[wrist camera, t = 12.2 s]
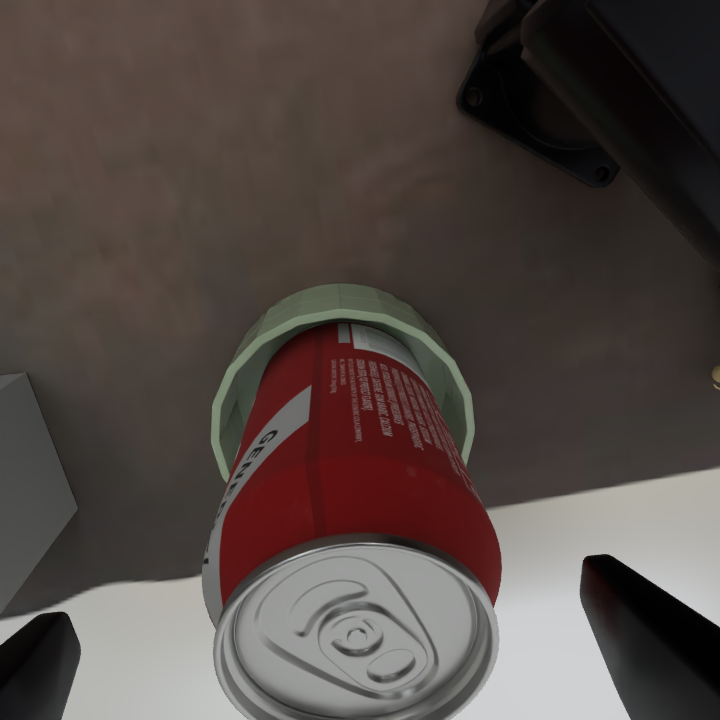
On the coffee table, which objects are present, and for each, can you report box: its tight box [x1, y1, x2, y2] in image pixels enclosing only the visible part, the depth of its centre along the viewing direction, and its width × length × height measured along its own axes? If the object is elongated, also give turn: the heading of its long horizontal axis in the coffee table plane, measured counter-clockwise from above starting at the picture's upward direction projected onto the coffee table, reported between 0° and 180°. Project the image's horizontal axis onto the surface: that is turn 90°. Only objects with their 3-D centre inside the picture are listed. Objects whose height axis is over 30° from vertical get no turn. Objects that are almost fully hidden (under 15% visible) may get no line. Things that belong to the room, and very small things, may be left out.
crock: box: [211, 283, 475, 483], centre depth 19 cm, size 9×9×4 cm
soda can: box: [202, 321, 502, 720], centre depth 15 cm, size 7×7×12 cm
